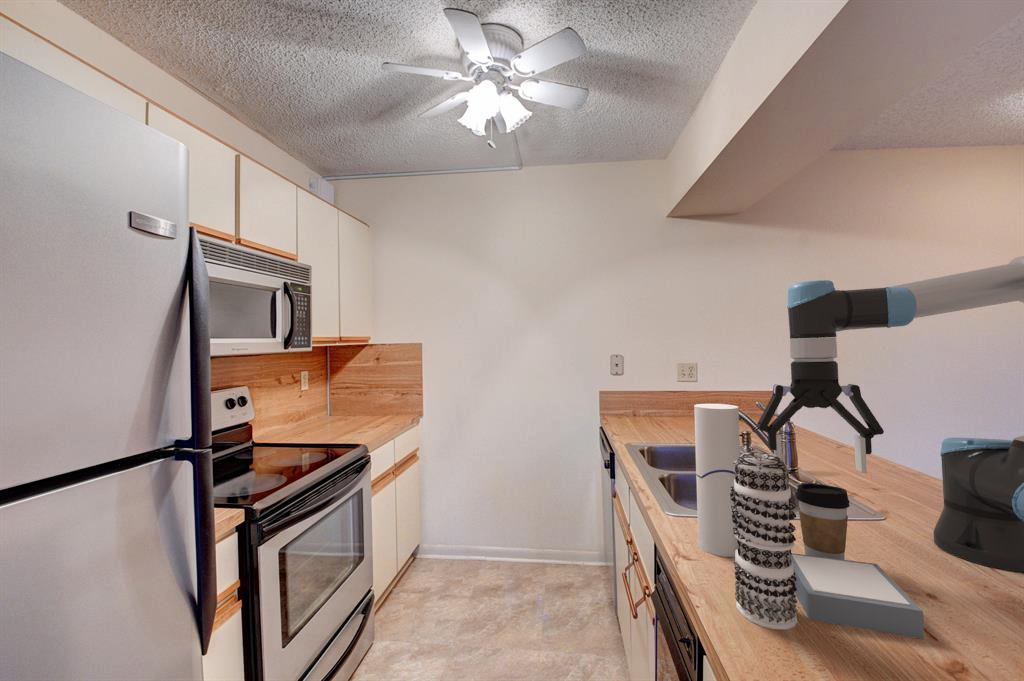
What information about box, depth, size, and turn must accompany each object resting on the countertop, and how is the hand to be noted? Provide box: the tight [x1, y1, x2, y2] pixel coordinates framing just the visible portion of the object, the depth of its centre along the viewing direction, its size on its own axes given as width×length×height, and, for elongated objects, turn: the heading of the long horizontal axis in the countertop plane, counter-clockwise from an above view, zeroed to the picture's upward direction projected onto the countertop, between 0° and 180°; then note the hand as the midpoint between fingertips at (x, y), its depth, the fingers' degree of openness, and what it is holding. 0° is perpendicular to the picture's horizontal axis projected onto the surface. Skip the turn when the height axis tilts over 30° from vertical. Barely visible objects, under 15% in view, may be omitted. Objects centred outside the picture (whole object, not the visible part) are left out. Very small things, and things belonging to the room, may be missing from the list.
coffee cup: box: [795, 482, 850, 560], centre depth 81 cm, size 8×8×15 cm
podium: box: [791, 552, 925, 640], centre depth 69 cm, size 14×14×4 cm
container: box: [693, 403, 741, 558], centre depth 89 cm, size 9×9×30 cm
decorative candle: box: [730, 451, 799, 630], centre depth 67 cm, size 9×9×25 cm
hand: (818, 468), depth 82 cm, fingers open, 13 cm apart
